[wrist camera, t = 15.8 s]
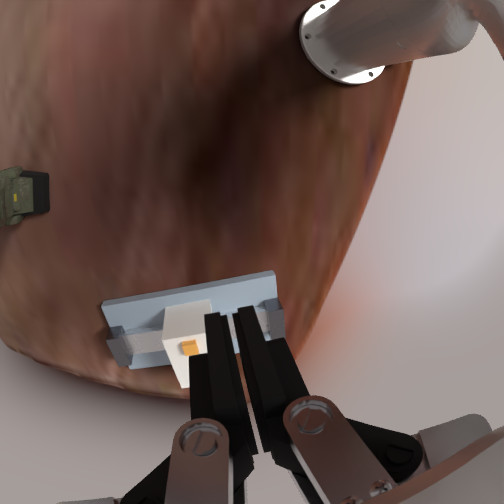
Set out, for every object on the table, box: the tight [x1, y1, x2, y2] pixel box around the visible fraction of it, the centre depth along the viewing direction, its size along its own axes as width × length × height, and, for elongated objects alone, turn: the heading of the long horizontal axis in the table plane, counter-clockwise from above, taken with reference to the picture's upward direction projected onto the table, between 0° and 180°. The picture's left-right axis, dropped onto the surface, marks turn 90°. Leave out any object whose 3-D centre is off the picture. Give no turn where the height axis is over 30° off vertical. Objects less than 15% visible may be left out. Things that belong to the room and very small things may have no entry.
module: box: [162, 299, 212, 388], centre depth 36 cm, size 6×8×8 cm
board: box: [101, 270, 277, 369], centre depth 41 cm, size 24×12×2 cm, turn 97°
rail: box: [106, 297, 286, 367], centre depth 39 cm, size 24×5×3 cm, turn 97°
